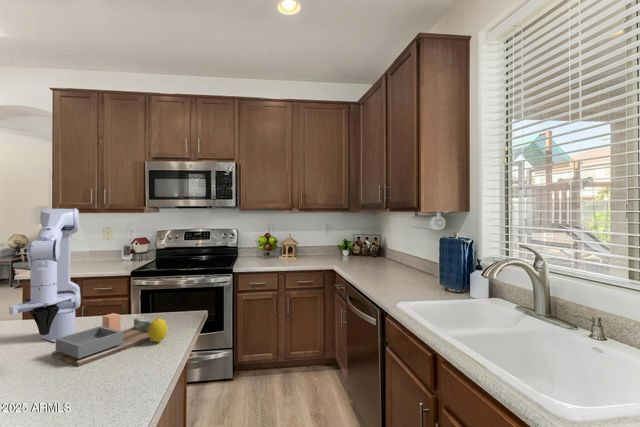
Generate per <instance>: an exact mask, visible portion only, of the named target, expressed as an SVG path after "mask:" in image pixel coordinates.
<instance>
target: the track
mask: <svg viewBox="0 0 640 427" xmlns="http://www.w3.org/2000/svg"><path fill="white" fill-rule="evenodd" d="M152 322H153V321H150V320H145V319H142V318H139V317H138V318H134V319H133V327H129V328H126V329H123V330H122V329H121V331H122V332H123V343H122V344H119V345H117V346H114V347H111V348H108V349H105V350H102V351H99V352H96V353H93V354H90V355H88V356H85V357H83V358H79V359H78V358H75V357H72V356H69V355H67V354H64V353H61V352H58V351H56V350H55V351H52V352H51V357H52V358H54V359H56V360H60V361H62V362H66V363H67V364H70V365H73V366H76V367H81V366H84V365H87V364H90V363H93V362H95V361H98V360H101V359H103V358H106V357H108V356H111V355H114V354H116V353H120V352H122V351H125V350H127V349H131V348H133V347H135V346H138V345H141V344H145V343H146V342H149V341H152V340H151V338H150V337H149V327H150V324H151V323H152Z"/></svg>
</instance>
